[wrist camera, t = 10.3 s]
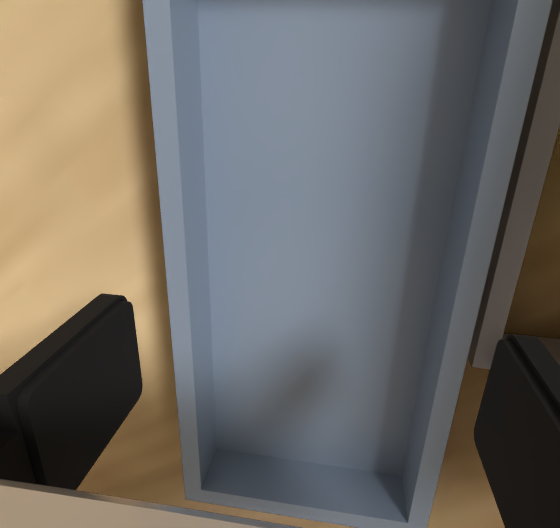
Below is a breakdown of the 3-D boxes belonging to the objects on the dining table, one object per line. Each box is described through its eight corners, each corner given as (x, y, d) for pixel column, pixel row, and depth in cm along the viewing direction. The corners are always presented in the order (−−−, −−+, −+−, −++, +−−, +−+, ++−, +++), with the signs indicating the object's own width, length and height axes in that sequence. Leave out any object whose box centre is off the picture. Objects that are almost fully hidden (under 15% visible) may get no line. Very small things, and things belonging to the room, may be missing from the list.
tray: (533, -92, 12) (587, -147, 9) (414, 479, 21) (424, 538, 18) (176, -82, 13) (131, -127, 11) (205, 449, 22) (185, 499, 19)
